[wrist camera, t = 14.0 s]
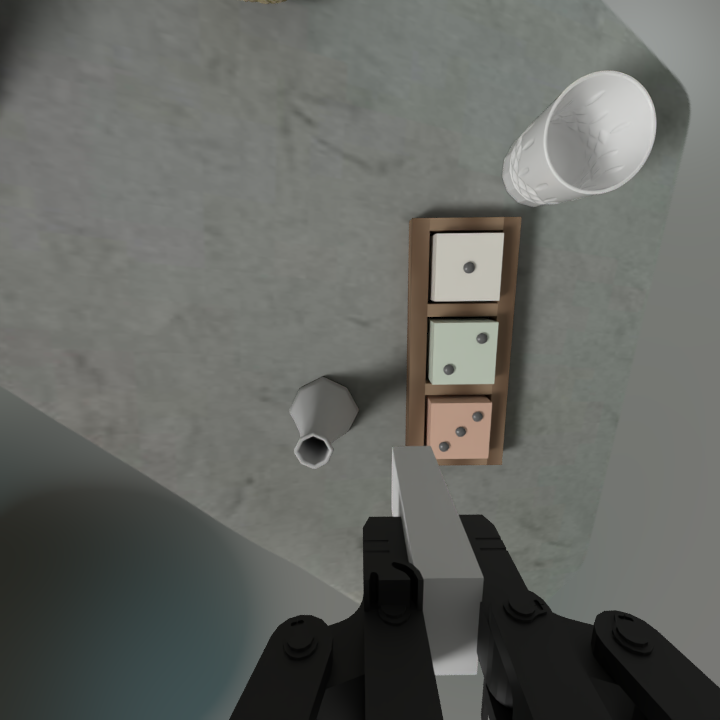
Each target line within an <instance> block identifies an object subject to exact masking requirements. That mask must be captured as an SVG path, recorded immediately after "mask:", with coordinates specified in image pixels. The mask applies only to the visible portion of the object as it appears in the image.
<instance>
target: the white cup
mask: <svg viewBox="0 0 720 720" xmlns="http://www.w3.org/2000/svg"><path fill="white" fill-rule="evenodd" d="M656 126H657V121H656V112H655V108H654V104H653V101H652V99H651V97H650V95H649V93H648V92H647V90H646V89H645V88H644V86H643V85H642V84H641V83H640V82H639V81H637V80H636V79H635V78H633V77H631V76H630V75H627V74H625V73H622V72H618V71H610V70H606V71H598V72H594V73H590V74H588V75H585V76H583V77H581V78H579V79H578V80H576V81H575V82H573V83H572V84H571V85H570V86H568V87H567V88H566V89H565V90H564V91H563V92H562V93H561V94H560V95H559V96H558V97H557V98H556V99H555V100H554V101H553V102H552V103H551V104H550V105H549V106H548V107H547V108H546V109H545V110H544V111H543V112H542V113H541V114H540V115H539V116H538V117H537V118H536V119H535V120H534V121H533V122H532V124H531V125H530V126H529V127H528V128H527V129H526V130H525V131H524V132H523V134H522V135H521V136H520V137H519V138H518V139H517V140H516V141H515V142H514V143H513V144H512V146H511V148H510V150H509V152H508V153H507V155H506V157H505V159H504V165H503V174H502V177H503V180H504V183H505V187H506V190H507V192H508V193H509V194H510V195H511V196H512V197H513V198H514V199H515V200H516V201H517V202H518V203H521V204H524V205H527V206H531V207H536V206H541V205H546V204H557V203H563V202H567V201H573V200H577V199H580V198H585V197H589V196H593V195H597V194H601V193H606V192H609V191H612V190H614V189H616V188H618V187H620V186H622V185H623V184H625V183H626V182H628V181H629V180H630V179H631V178H632V177H634V176H635V175H636V173H637V172H638V171H639V170H640V169H641V168H642V166H643V165H644V163H645V162H646V160H647V158H648V156H649V154H650V152H651V150H652V147H653V144H654V140H655V136H656Z"/></svg>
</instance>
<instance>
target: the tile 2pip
mask: <svg viewBox="0 0 720 720" xmlns="http://www.w3.org/2000/svg"><path fill="white" fill-rule="evenodd" d="M498 324H499V322H496V321H494V320H491V319H488V318H460V319H428V352H427V377H428V379H429V380H430V382H431V383H432V385H447V384H494V380H495V366H496V352H497V338H498Z"/></svg>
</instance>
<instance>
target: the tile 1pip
mask: <svg viewBox="0 0 720 720" xmlns="http://www.w3.org/2000/svg"><path fill="white" fill-rule="evenodd" d="M503 242H504V233H449V234H435V235H433V236H431V237H430V271H429V299H430V300H433V301H499V299H500V285H501V270H502V256H503Z"/></svg>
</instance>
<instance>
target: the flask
mask: <svg viewBox="0 0 720 720" xmlns="http://www.w3.org/2000/svg"><path fill="white" fill-rule="evenodd" d="M358 411H359V409H358V407H357V405H356V403H355V401H354V400H353V398H352V396H351V394H350V392H349V391H348V389H347V387H344V386H342V385H340V384H338V383H336V382H333V381H331V380H329V379H327V378H325V377H321V378H319V379H317V380H315V381H313V382H311V383H309V384H307V385H305V386H303V387H301V388H299V390H298V393H297V395H296V397H295V399H294V401H293V403H292V406H291V408H290V410H289V412H290V414H291V416H292V418H293V419H294V421H295V423H296V425H297V427H298V429H299V431H300V439H299V441H298V443H297V445H296V447H295V449H294V453H295V454H296V456H297V458H298V459H299V461H300V462H301V464H304V465H306V466H308V467H310V468H313V469H316V468H318V467H320V466H322V465H324V464H327V463H328V461H329V459H330V457H331V455H332V453H333V451H334V449H333V447H332V445H331V443H333V442H334V441H335V440H336V439H338V438H339V437H341V436H342V435H344V434H346V433H347V432H348V431H349V429H350V427H351V425H352V423H353V421H354V419H355V417H356V415H357V413H358Z"/></svg>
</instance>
